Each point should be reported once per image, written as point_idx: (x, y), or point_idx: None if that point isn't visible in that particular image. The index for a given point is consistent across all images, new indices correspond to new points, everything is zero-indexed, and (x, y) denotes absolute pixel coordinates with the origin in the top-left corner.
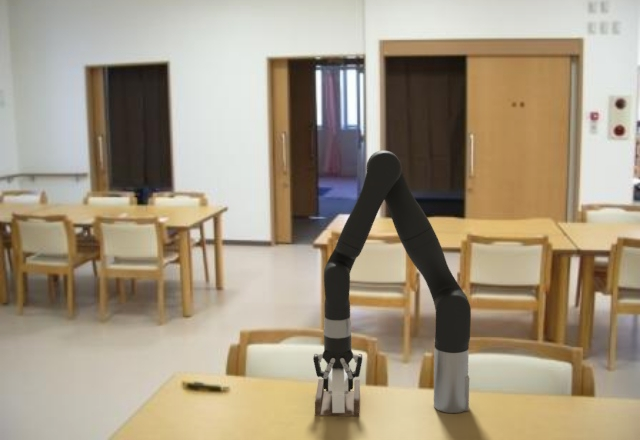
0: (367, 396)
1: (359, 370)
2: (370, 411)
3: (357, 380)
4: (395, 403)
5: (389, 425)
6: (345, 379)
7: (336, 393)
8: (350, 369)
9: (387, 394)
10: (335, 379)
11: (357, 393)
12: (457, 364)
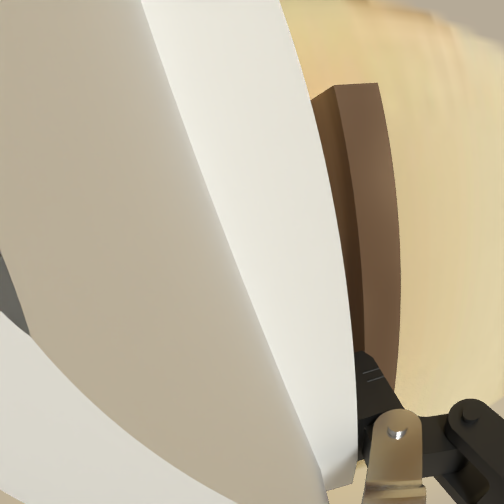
0: (393, 157)
1: (483, 483)
2: (411, 335)
3: (364, 103)
4: (501, 223)
5: (451, 398)
6: (334, 467)
7: None
8: (414, 482)
9: (473, 120)
10: None
11: (386, 355)
12: None
